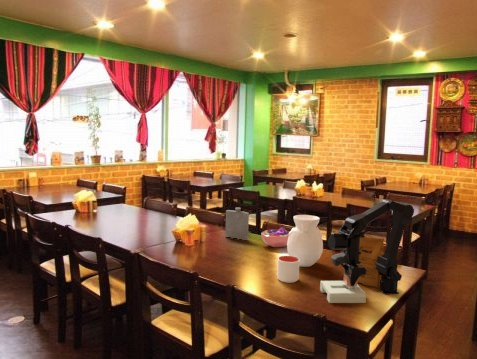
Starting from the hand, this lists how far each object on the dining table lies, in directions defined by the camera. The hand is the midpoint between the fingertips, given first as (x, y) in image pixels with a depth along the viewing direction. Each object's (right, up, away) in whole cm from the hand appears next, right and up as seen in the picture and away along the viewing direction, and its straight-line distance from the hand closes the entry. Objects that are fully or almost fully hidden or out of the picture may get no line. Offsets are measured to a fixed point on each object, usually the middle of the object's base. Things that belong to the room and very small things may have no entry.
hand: (350, 283), depth 171 cm
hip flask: (-48, +6, +89) cm, 101 cm away
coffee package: (+13, -4, +17) cm, 22 cm away
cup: (-24, -3, +18) cm, 30 cm away
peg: (0, -5, +1) cm, 5 cm away
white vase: (-13, 0, +42) cm, 43 cm away
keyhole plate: (-3, -5, 0) cm, 6 cm away
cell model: (-24, +3, +74) cm, 78 cm away
